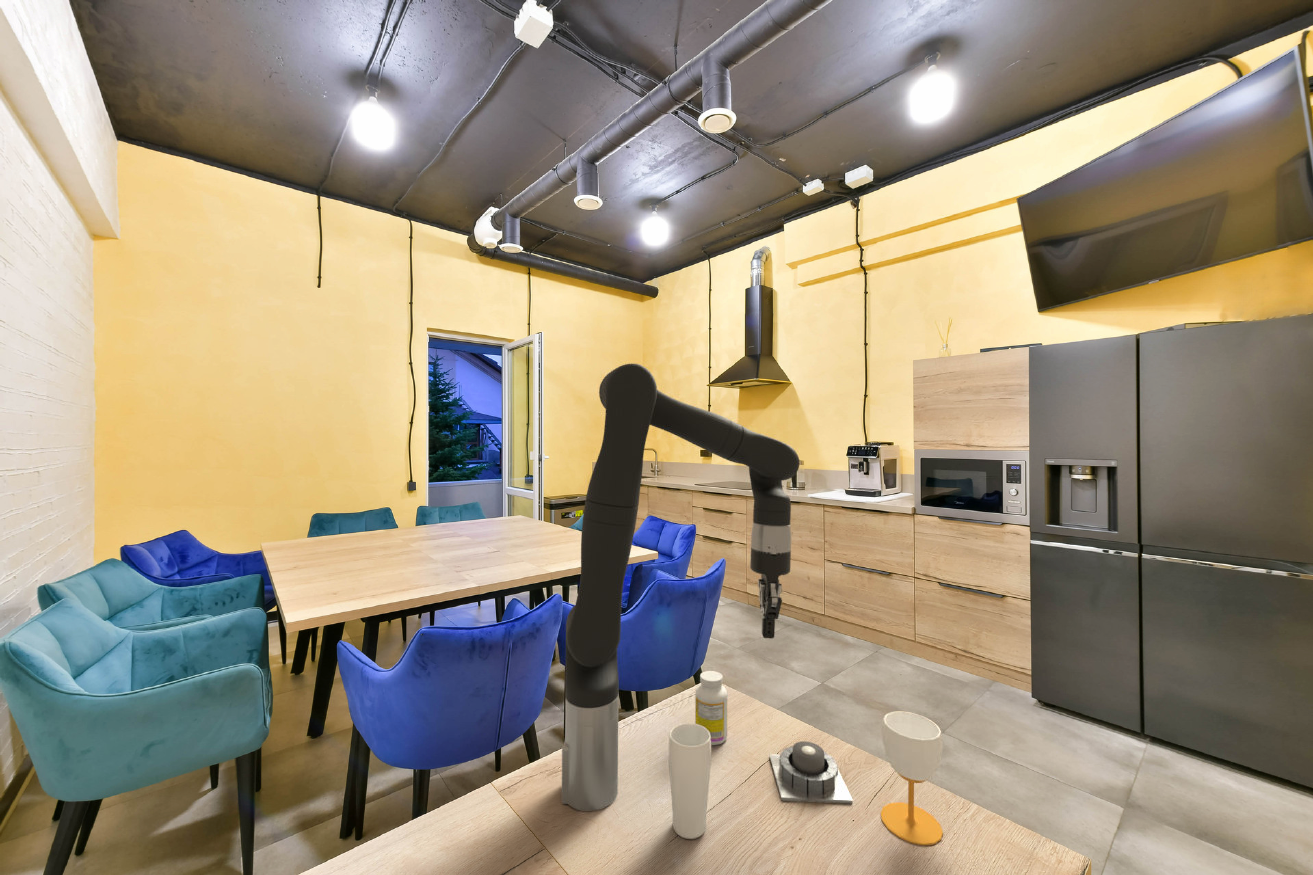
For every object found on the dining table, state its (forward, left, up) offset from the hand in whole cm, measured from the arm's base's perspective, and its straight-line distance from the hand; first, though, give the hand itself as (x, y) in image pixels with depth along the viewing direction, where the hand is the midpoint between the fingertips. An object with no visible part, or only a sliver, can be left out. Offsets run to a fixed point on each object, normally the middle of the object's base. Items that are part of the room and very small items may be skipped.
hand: (767, 636), depth 98 cm
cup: (+21, -14, -25) cm, 35 cm away
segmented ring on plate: (+7, -4, -24) cm, 26 cm away
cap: (+7, -4, -24) cm, 25 cm away
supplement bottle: (-10, +8, -25) cm, 28 cm away
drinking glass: (-15, -17, -25) cm, 34 cm away
